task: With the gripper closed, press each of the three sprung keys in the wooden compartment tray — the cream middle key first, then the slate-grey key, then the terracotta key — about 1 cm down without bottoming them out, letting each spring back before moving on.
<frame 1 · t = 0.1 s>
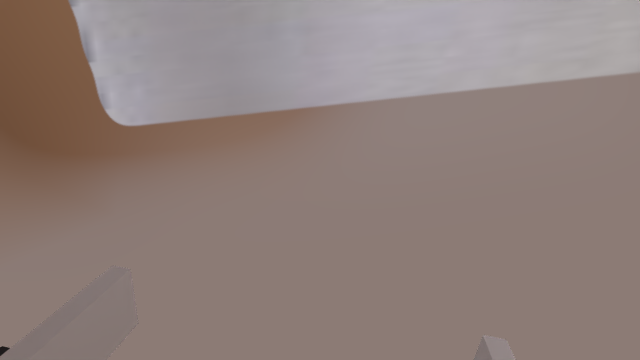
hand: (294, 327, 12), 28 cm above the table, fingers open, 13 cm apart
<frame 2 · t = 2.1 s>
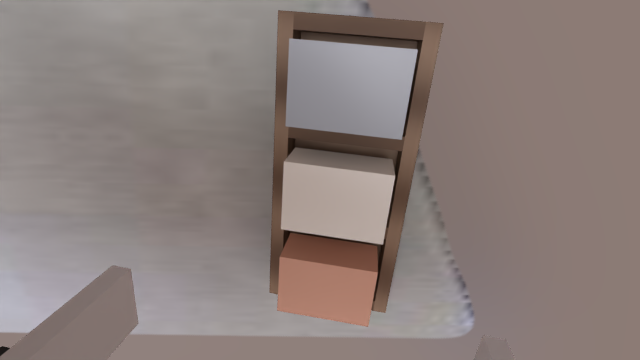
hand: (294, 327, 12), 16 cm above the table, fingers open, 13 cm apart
cream key: (337, 193, 22), point 5 cm above the table, slide at 0.1 cm
wooden compartment tray: (343, 170, 27), on the table
terracotta key: (327, 277, 25), point 5 cm above the table, slide at 0.0 cm
slate key: (349, 87, 20), point 5 cm above the table, slide at 0.1 cm
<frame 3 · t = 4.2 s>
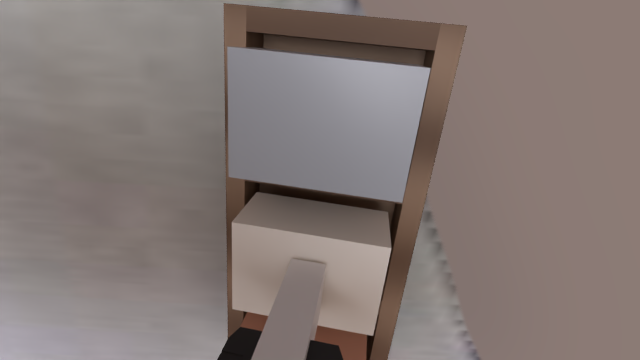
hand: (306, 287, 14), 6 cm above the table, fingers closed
cream key: (311, 259, 16), point 4 cm above the table, slide at 0.4 cm, touching gripper
wooden compartment tray: (323, 217, 20), on the table
slate key: (325, 119, 13), point 5 cm above the table, slide at 0.1 cm
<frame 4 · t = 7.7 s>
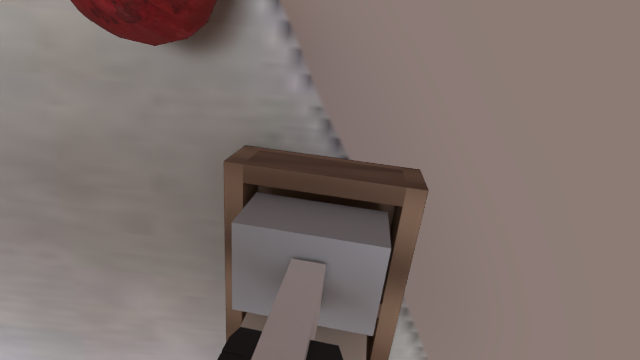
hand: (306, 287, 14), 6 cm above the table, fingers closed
wooden compartment tray: (313, 308, 23), on the table
slate key: (311, 259, 16), point 4 cm above the table, slide at 0.6 cm, touching gripper
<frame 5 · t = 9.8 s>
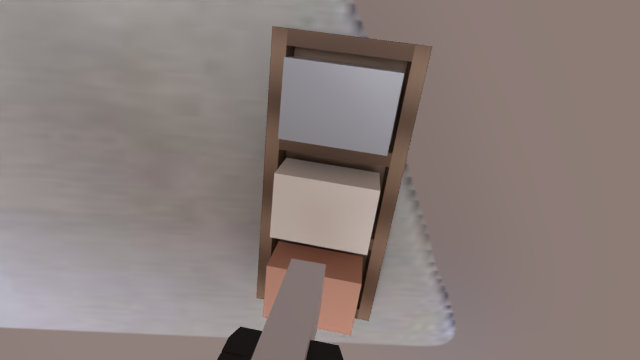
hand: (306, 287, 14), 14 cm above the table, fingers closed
cream key: (325, 204, 23), point 5 cm above the table, slide at 0.3 cm
wooden compartment tray: (332, 181, 27), on the table
terracotta key: (313, 286, 26), point 5 cm above the table, slide at 0.0 cm
slate key: (339, 103, 21), point 4 cm above the table, slide at 0.7 cm
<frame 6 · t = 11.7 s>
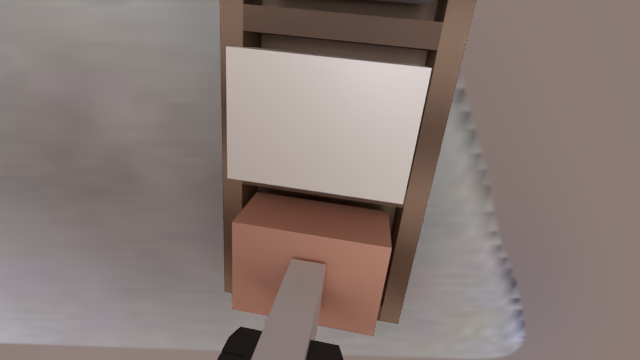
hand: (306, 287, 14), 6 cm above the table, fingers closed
cream key: (324, 120, 13), point 5 cm above the table, slide at 0.3 cm
wooden compartment tray: (336, 103, 17), on the table
terracotta key: (311, 259, 16), point 4 cm above the table, slide at 0.8 cm, touching gripper
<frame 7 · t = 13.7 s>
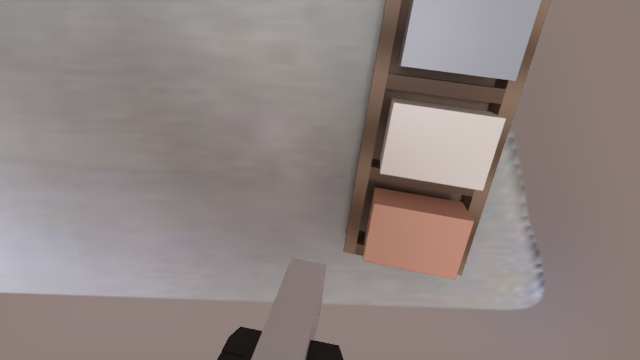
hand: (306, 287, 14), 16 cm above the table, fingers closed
cream key: (435, 142, 23), point 5 cm above the table, slide at 0.3 cm
wooden compartment tray: (426, 129, 27), on the table
terracotta key: (413, 231, 25), point 5 cm above the table, slide at 0.2 cm
slate key: (461, 32, 21), point 4 cm above the table, slide at 0.7 cm
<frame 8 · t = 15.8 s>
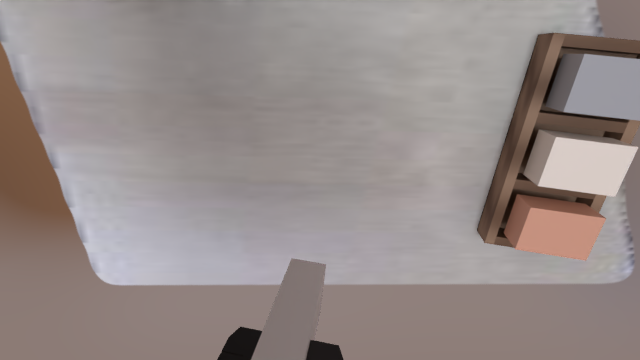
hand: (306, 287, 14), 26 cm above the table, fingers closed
cream key: (575, 161, 32), point 5 cm above the table, slide at 0.3 cm
wooden compartment tray: (552, 149, 36), on the table
terracotta key: (550, 226, 34), point 5 cm above the table, slide at 0.2 cm
slate key: (603, 86, 29), point 4 cm above the table, slide at 0.7 cm
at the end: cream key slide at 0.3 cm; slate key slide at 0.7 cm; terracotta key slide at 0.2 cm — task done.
